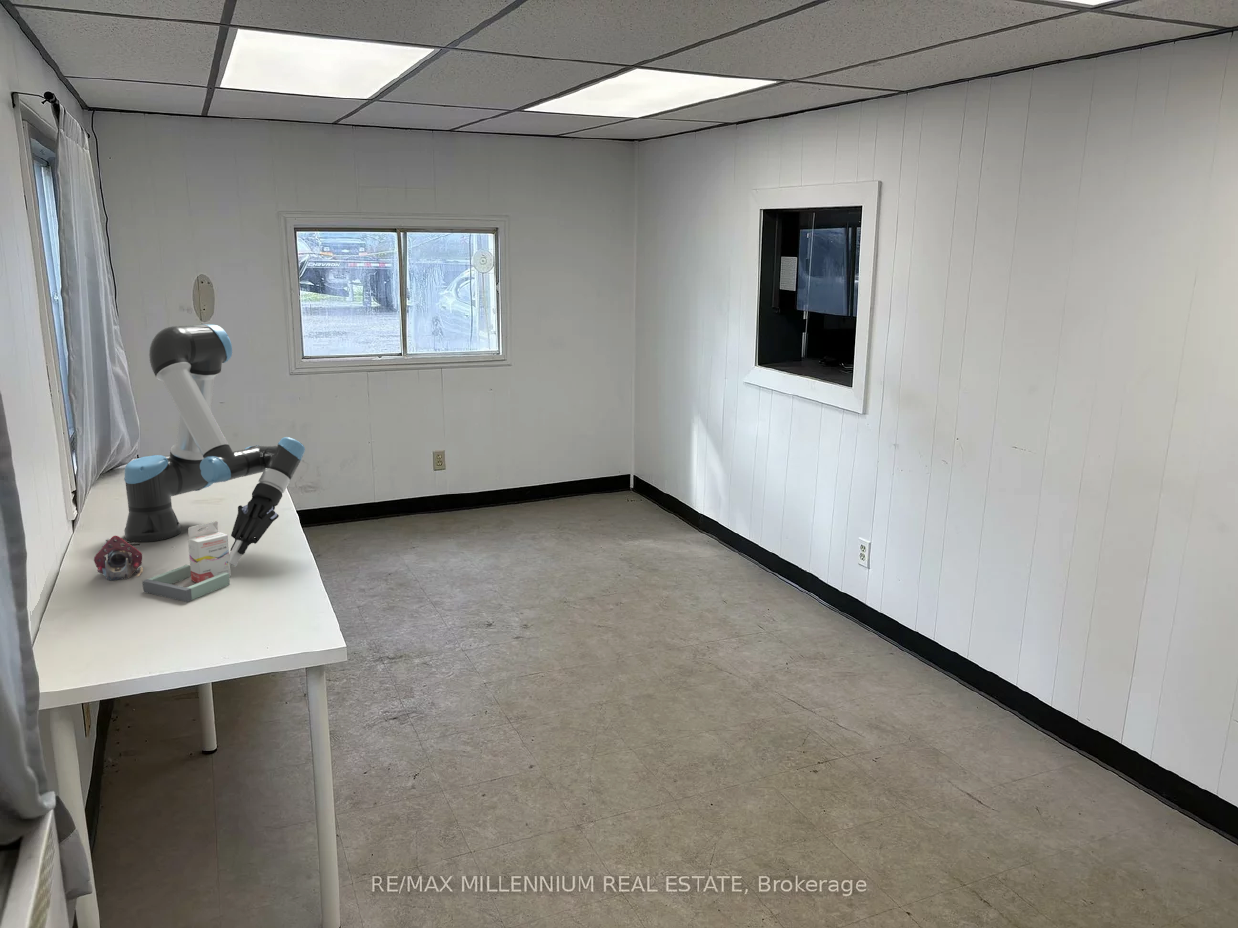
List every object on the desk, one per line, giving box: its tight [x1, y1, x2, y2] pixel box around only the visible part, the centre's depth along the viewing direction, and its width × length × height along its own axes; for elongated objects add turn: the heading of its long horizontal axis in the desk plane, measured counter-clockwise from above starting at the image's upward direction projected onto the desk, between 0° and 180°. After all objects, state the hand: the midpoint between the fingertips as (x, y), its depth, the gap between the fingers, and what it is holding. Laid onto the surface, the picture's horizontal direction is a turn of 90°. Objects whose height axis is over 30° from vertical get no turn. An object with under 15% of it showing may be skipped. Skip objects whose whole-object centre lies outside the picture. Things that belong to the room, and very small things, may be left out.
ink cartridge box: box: [187, 520, 231, 584], centre depth 237 cm, size 9×5×15 cm, turn 143°
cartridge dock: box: [142, 564, 230, 603], centre depth 232 cm, size 15×14×3 cm
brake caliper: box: [93, 535, 144, 582], centre depth 241 cm, size 11×11×12 cm
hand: (230, 563), depth 243 cm, fingers closed
